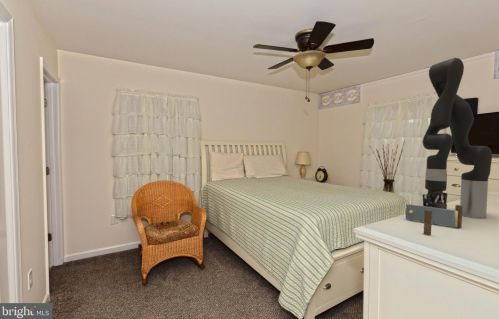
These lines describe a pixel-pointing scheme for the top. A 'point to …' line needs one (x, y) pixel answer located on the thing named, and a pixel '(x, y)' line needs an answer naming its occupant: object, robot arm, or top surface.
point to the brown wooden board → (429, 219)
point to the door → (438, 215)
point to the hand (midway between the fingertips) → (434, 216)
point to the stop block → (440, 205)
